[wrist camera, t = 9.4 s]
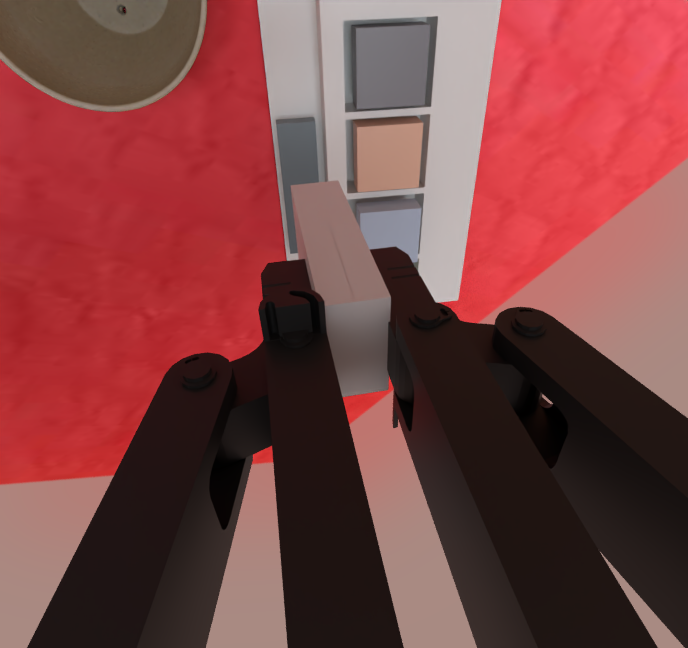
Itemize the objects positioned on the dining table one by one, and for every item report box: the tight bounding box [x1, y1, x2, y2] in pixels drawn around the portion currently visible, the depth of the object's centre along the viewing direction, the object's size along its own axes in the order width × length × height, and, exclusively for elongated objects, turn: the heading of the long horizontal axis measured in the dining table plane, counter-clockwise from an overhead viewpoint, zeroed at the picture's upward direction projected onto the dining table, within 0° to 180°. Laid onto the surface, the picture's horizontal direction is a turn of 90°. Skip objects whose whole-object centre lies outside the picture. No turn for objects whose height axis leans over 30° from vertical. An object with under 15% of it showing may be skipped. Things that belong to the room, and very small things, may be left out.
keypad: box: [257, 0, 502, 303], centre depth 33 cm, size 14×22×3 cm, turn 2°
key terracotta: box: [353, 116, 423, 192], centre depth 31 cm, size 4×4×2 cm
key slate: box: [356, 198, 422, 262], centre depth 33 cm, size 4×4×2 cm
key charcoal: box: [352, 21, 430, 109], centre depth 28 cm, size 4×4×2 cm
